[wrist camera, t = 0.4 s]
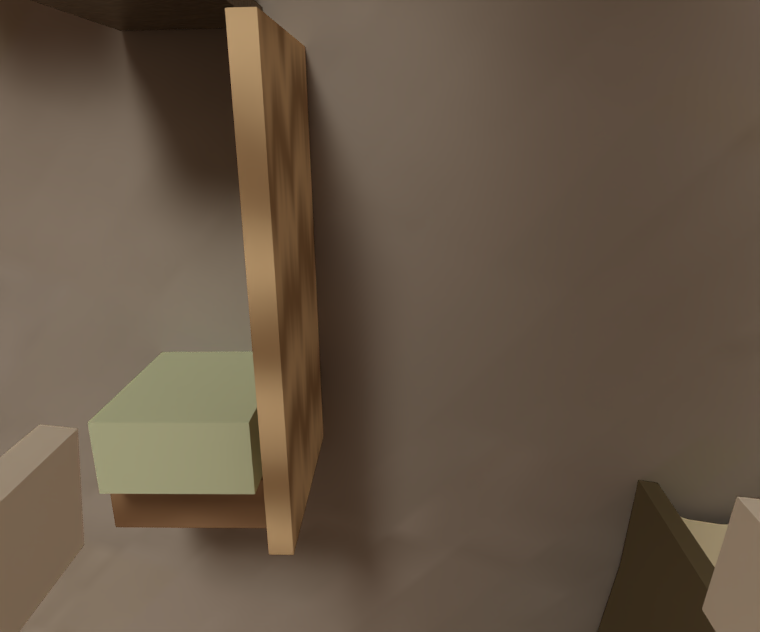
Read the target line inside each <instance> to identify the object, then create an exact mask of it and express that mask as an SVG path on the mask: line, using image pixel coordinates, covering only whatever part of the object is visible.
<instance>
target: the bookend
mask: <svg viewBox="0 0 760 632" xmlns="http://www.w3.org/2000/svg"><path fill="white" fill-rule="evenodd" d="M32 1H35V2H37V3H40V4H43V5H46V6H49V7H52V8H55V9H58V10H61V11H64V12H67V13H70V14H73V15H76V16H79V17H81V18H84V19H87V20H90V21H93V22H96V23H99V24H102V25H105V26H108V27H111V28H114V29H117V30H120V31H127V30H170V29H214V28H226V16H225V8H230V7H258V8H259V9H260V10H261V11H263V9H262V7H261V6H260V5H259V4H258V3H257V2H256V1H254V0H32Z"/></svg>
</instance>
